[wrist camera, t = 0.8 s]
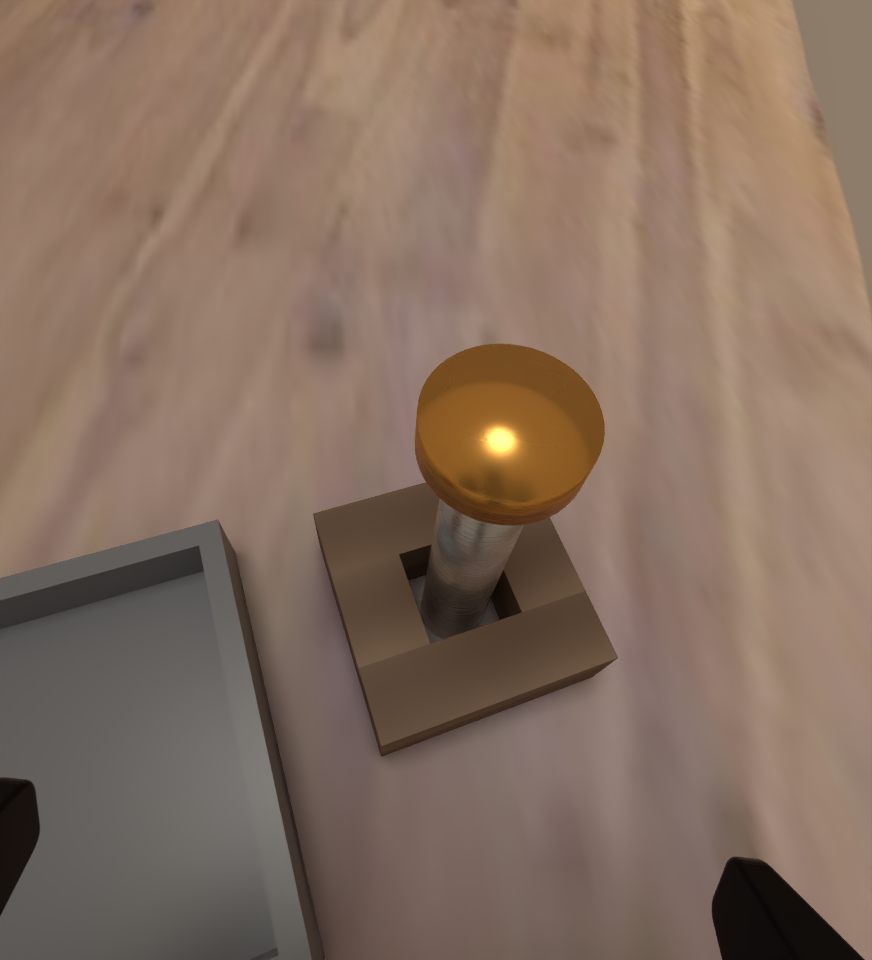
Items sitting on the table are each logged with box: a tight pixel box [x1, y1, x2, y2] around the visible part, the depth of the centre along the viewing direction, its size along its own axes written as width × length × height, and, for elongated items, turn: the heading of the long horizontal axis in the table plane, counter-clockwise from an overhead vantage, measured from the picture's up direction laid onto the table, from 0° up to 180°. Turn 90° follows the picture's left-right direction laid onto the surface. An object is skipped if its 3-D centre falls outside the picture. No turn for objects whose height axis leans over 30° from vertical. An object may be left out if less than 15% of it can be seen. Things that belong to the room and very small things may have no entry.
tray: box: [0, 520, 325, 960], centre depth 19 cm, size 14×13×3 cm
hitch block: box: [313, 482, 618, 756], centre depth 23 cm, size 8×8×3 cm
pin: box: [415, 344, 605, 639], centre depth 19 cm, size 4×4×13 cm
